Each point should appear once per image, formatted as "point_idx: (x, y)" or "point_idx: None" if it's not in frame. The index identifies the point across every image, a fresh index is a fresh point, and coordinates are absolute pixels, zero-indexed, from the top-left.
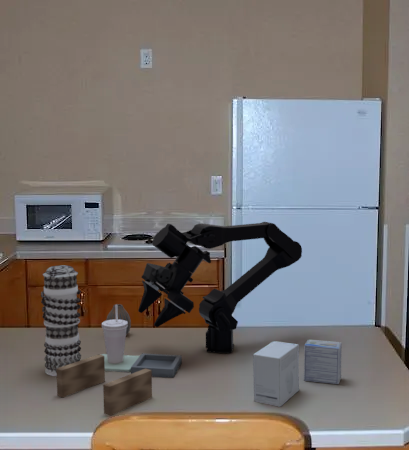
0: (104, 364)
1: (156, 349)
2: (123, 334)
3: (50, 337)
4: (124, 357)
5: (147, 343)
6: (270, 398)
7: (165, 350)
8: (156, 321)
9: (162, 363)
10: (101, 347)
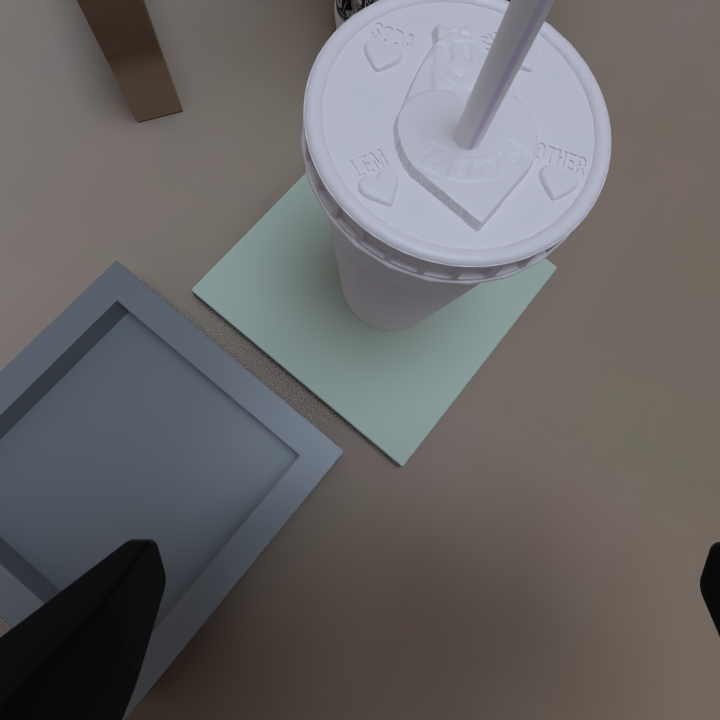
0: None
1: (525, 660)
2: (334, 226)
3: None
4: (426, 360)
5: (682, 659)
6: None
7: (472, 716)
8: (90, 579)
9: (152, 531)
10: (716, 337)
